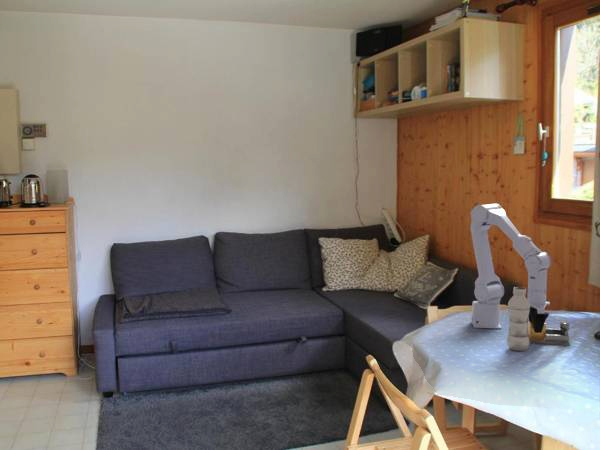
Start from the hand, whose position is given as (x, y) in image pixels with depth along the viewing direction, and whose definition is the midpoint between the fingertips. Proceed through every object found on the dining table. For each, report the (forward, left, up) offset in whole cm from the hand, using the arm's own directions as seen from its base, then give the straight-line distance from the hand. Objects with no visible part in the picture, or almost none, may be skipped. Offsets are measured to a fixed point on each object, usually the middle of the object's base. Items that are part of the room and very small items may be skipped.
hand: (535, 328), depth 190 cm
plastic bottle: (-7, -12, -4) cm, 15 cm away
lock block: (0, 0, -3) cm, 3 cm away
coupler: (+4, 0, -3) cm, 5 cm away
